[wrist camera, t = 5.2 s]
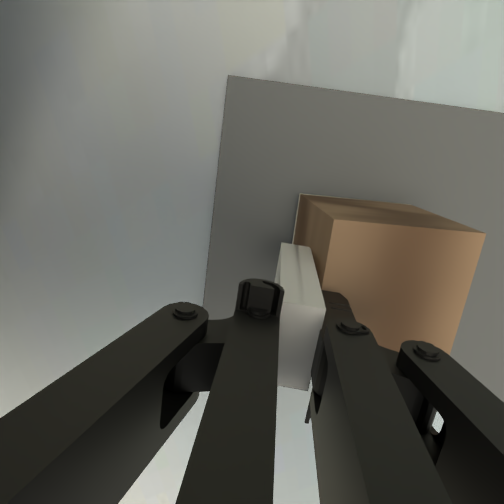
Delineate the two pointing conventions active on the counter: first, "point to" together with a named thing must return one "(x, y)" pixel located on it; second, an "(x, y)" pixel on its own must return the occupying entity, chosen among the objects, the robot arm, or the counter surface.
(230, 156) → the rubber mat
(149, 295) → the counter surface
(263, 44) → the counter surface
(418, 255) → the walnut cube
